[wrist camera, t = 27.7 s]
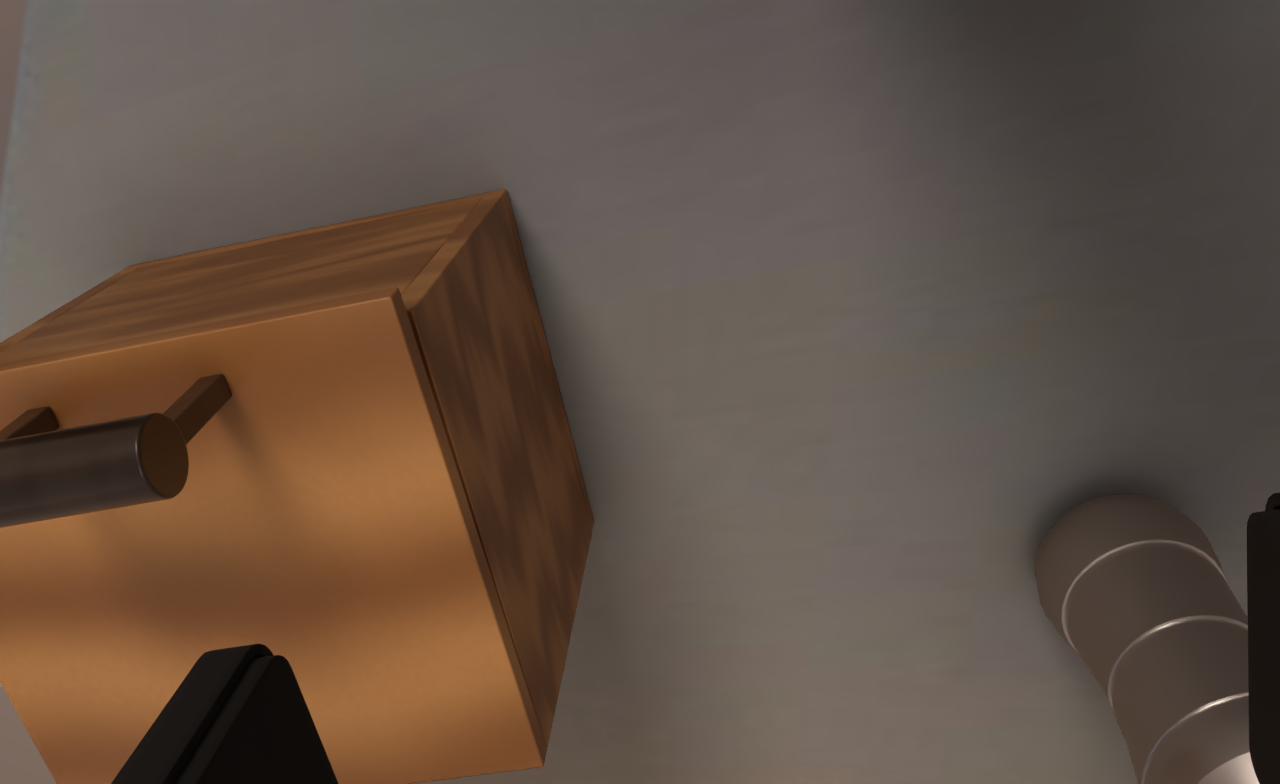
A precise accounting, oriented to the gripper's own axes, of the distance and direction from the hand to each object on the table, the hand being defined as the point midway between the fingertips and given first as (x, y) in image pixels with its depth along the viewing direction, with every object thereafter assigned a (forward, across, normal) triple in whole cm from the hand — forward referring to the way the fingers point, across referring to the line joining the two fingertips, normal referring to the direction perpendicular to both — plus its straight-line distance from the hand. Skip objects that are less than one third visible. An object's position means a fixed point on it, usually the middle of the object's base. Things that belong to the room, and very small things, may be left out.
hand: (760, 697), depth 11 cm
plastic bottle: (+32, -12, +20) cm, 40 cm away
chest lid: (+18, +16, +8) cm, 26 cm away
